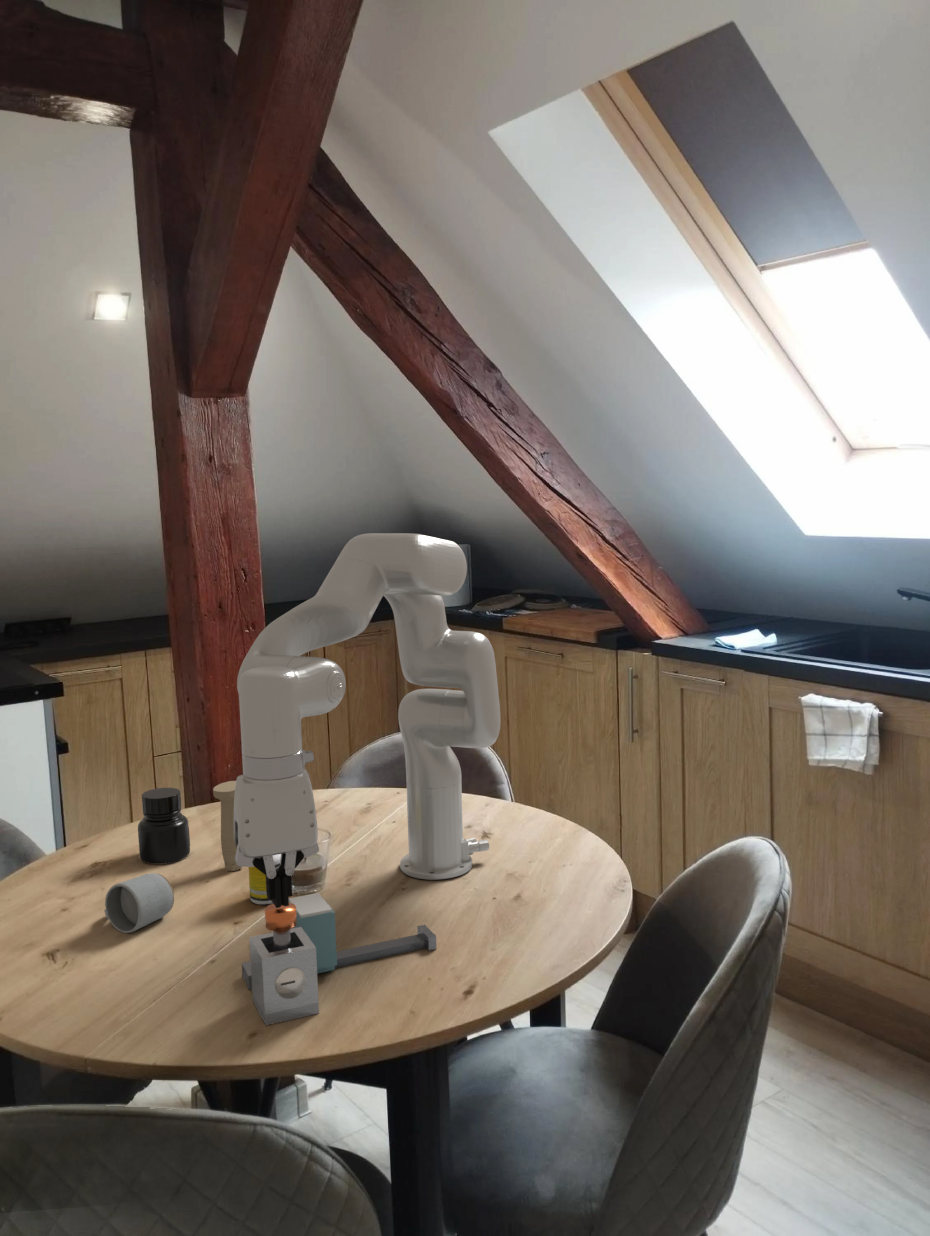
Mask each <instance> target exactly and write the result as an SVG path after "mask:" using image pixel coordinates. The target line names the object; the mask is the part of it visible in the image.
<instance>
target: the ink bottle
mask: <svg viewBox="0 0 930 1236" xmlns="http://www.w3.org/2000/svg"><path fill="white" fill-rule="evenodd" d="M141 803H142V815H143V818H142V819H141V820H140V822H138V825H137V836H138V852H139V859H140V861H142V862H144V863H147V864H155V865H158V864H159V865H163V864H164V865H165V864H171V863H176V862H178V861H180V860H183V859H184V858H186V857H188V855H189V854H190V853H191V852H190V851H191V841H190V840H191V838H190V827H189V826H190V825H189V818H187V816H185V814H183V813H182V797H181V789H178V788H175V787H156V788H152V789H148V790H146V791H144V792H143V793H142V794H141Z"/></svg>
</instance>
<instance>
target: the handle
mask: <svg viewBox="0 0 930 1236" xmlns="http://www.w3.org/2000/svg"><path fill="white" fill-rule="evenodd" d="M235 786H236V780H229V781H225V782H221V783H219V784H217V785H216V786H214V787H213V790H212V793H213V794H212V795H213V797H214V798H215V799H217V800H219V801H220V845H221V854H222V857H223V858H222V859H223V862H224V868H225V871H228V872H235V871H240V870H242V869H243V867H242V866H238V865H237V864H236V862H235V856H236V851H237V847H236V846H235V843H234V834H233V819H234V795H235ZM239 869H240V870H239Z"/></svg>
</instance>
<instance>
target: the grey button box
mask: <svg viewBox="0 0 930 1236" xmlns="http://www.w3.org/2000/svg"><path fill="white" fill-rule="evenodd" d="M290 936H291V949H286V950H281V951H276V952H274V942H273V931H271V932H269V933H263V934H259V935H254V936H249V937H248V939H249V941H248V942H249V955H250V956H249V958H250V962H251V977H252V990H251V993H252V995H251V996H252V1002H254V1003H253V1005H254V1004H255V1005H254V1007H255V1006H256V1007H255V1008H257V1009H256V1011H257V1012H258V1015H259V1017H260V1018H261V1017H262V1018H261V1020H262V1019H263V1020H262V1021H264V1022H263V1023H265V1024H264V1026H265V1027H266V1025H267V1026H269V1025H268V1024H272V1023H276V1024H278V1023H277V1022H280V1023H282V1022H281V1021H284V1022H288V1021H293V1020H297V1019H301V1018H305V1017H309V1016H310V1017H311V1016H314V1015H318V1014H320V1007H319V1005H320V1004H319V1003H320V1002H319V984H318V981H319V980H318V974H317V959H316V947H315V945H314V944H313V943H312V941H311V940H310V938H309V937H308V936H307V934H306V933H305V931H304V930H303V929H302V927H297V928H292V929H290ZM272 1025H273V1024H272Z"/></svg>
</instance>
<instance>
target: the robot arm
mask: <svg viewBox="0 0 930 1236" xmlns="http://www.w3.org/2000/svg"><path fill="white" fill-rule="evenodd" d="M467 563H468V562H467V558H466V555H465V553H464V551H463V549H462V548H461V547H460V546H459V545H458V544H457V543H456V542H455V541H452V540H448V539H443V538H439V537H435V536H431V535H430V536H429V535H425V534H422V533H409V532H408V533H407V532H406V533H404V532H403V533H401V532H399V533H395V532H394V533H392V532H391V533H389V532H387V533H386V532H385V533H381V532H379V533H378V532H377V533H374V532H373V533H362V534H358V535H356V536H354V537H352V538H351V539H349V541H348V542H347V543H346V544H345V545H344V547H343V548H342V550H341V551H340V553H339V555H338V556H337V559H336V560H335V562H334V563H333V565H332V567H331V569H330V570H329V572H328V574H327V575H326V577H325V578H324V580H323V582H322V584H321V586H319V588H318V591H316V594H315V595H314V596H313V597H311V598H309V599H307V600H306V601H304V602H302V603H300V604H298V605H296V606H295V607H293V608H291V609H290V610H288V611H287V612H285V613H284V614H282V615H280V616H279V617H277V618H276V619H274V620H273V621H271V622H269V624H267V626H266V627H265V628H263V630H261V632H260V633H258V636H257V637H256V638H255V640H254V641H253V643H252V645H251V646H250V648H249V649H248V652H247V653H246V655H245V657H244V659H243V660H242V663H241V665H240V667H239V670H238V673H237V678H236V679H237V680H236V689H237V693H238V704H239V718H240V719H239V722H240V723H239V724H240V740H241V755H242V756H241V758H242V759H241V760H242V774H240V775H238V776H237V777H236V780H235V781H236V786H235V795H234V819H233V834H234V843H235V846H236V847H237V851H236V856H235V862H236V864H237V865H238V866H242V868H244V867H245V868H249V867H255V868H257V869H258V870H259V871H261V872H262V873H263V874H265V875H266V893H267V898H268V900H271V901H272V902H273V904H274V905H275V907H276V908H279V907H281V906H282V905H283V906H289V898H291V897H292V896H293V879H292V875H293V874H294V873H295V869H297V867H298V866H299V865H300V863H301V862H302V861H303V860H304V859H305V858H307V859H308V858H309V857H311V856H314V855H316V854H317V853H319V851H320V847H319V844H318V837H319V832H318V831H319V830H318V829H319V828H318V820H317V819H318V818H317V811H316V810H317V809H316V805H315V797H314V791H313V786H312V782H311V778H310V775H309V771H307V769H306V768H305V766H306V764H308V763H309V762H314V760H315V759H314V758H315V757H314V754H315V753H314V752H313V750H308V751H307V750H304V749H303V737H302V736H303V733H302V719H303V718H306V717H313V716H320V715H325V714H327V713H329V712H332V711H333V710H334V709H336V707H337V706H338V705H339V704H340V703H341V701H342V700H343V698H344V697H345V693H346V687H347V684H346V683H347V679H346V675H345V673H344V671H343V668H341V666H340V665H339V664H338V663H336V662H335V661H333V660H331V659H329V658H325V657H319V656H318V657H317V656H302V655H304V654H306V653H308V652H312V651H313V650H317V649H320V648H324V647H328V646H331V645H334V644H337V643H341V642H344V641H346V640H350V639H351V638H355V637H356V636H358V635H360V634H362V633H363V632H365V630H366V629H367V627H368V625H369V623H370V622H371V620H372V618H373V615H374V614H375V612H376V609H377V608H378V607H379V605H380V602H381V600H382V598H383V597H384V598H385V599H386V601H387V602H388V603H389V605H390V607H391V610H392V613H393V618H394V625H395V632H396V639H397V647H398V655H399V662H400V667H401V672H402V674H403V677H404V678H405V680H406V681H407V682H408V683H410V684H413V685H415V686H416V685H417V686H422V687H431V688H419V689H414V690H412V691H410V692H408V693H406V695H404V697H403V698H402V699H401V701H400V703H399V705H398V710H397V711H398V712H397V713H398V714H397V716H398V726H399V730H400V734H401V738H402V744H403V749H404V750H403V751H404V758H405V759H404V760H405V773H406V774H405V775H406V776H405V777H406V778H405V779H406V780H405V781H406V806H407V808H406V809H407V838H408V839H407V840H408V841H407V842H408V844H407V845H408V853H407V854H406V855H404V856H403V857H402V858H401V860H400V861H399V865H400V866H399V869H400V871H401V872H402V873H403V874H405V875H407V876H408V877H412V878H415V879H420V880H428V881H429V880H430V881H433V880H436V881H437V880H447V879H452V878H457V877H460V876H462V875H465V874H466V873H468V872H469V871H471V869H472V867H473V858H472V855H473V854H474V853H479V852H485V851H489V850H490V843H489V841H488V839H480V840H477V839H476V837H471V838H467V839H465V838H464V834H463V833H464V831H463V795H462V794H463V793H462V792H463V791H462V789H463V788H462V787H463V786H462V770H461V766H460V762H459V760H458V757H457V756H456V754H455V752H454V751H453V749H452V748H451V747H453V748H456V747H457V748H466V749H467V748H470V749H484V748H485V749H486V748H488V747H490V746H492V745H494V744H495V743H496V741H497V739H498V737H499V736H500V735H499V734H500V731H501V720H502V719H501V706H500V705H501V704H500V697H499V696H500V695H499V685H498V675H497V664H496V657H495V650H494V648H493V645H492V644H491V642H490V640H489V638H488V637H487V636H486V635H484V634H483V633H481V632H476V631H469V630H452V629H450V628H449V626H448V623H447V614H446V608H445V603H444V600H443V599H444V598H443V596H451V595H454V594H456V593H458V591H460V590H461V588H462V587H463V585H464V583H465V582H466V581H465V580H466V577H467V571H468V564H467ZM443 688H444V689H443ZM445 688H448V689H445ZM454 689H456V690H454ZM457 689H461V690H457ZM277 854H281V859H280V866H279V869H277V871H276V869H275V865H274V860H273V855H277Z"/></svg>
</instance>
